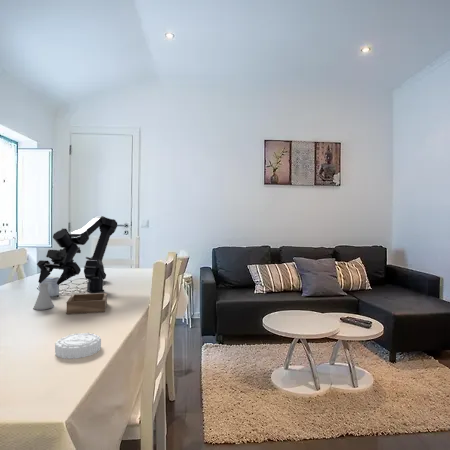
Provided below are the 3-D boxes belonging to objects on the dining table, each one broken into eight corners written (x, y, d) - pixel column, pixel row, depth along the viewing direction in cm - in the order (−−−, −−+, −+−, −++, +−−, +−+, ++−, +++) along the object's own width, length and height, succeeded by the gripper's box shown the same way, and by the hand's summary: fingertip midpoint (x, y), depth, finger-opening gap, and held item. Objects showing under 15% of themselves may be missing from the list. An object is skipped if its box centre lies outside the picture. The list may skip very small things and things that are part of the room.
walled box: (72, 305, 146) (72, 294, 146) (106, 303, 150) (106, 292, 149) (66, 314, 132) (66, 302, 132) (104, 312, 136) (104, 300, 136)
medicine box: (59, 295, 164) (59, 277, 164) (51, 297, 160) (52, 278, 159) (46, 293, 166) (46, 275, 166) (38, 295, 162) (39, 277, 162)
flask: (45, 311, 136) (45, 286, 136) (29, 309, 138) (29, 285, 138) (57, 306, 143) (57, 282, 143) (42, 305, 145) (42, 281, 145)
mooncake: (106, 343, 104) (106, 331, 104) (92, 359, 92) (92, 346, 92) (66, 343, 103) (66, 331, 103) (46, 359, 91) (46, 346, 91)
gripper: (40, 241, 150) (18, 270, 140) (76, 243, 145) (57, 273, 135) (53, 257, 158) (34, 286, 147) (88, 259, 153) (70, 289, 142)
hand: (48, 283), depth 143 cm, fingers open, 9 cm apart
